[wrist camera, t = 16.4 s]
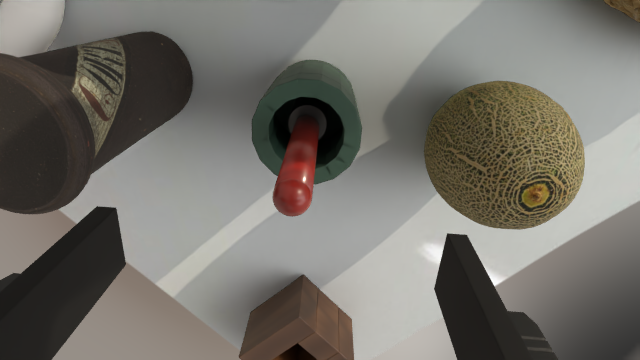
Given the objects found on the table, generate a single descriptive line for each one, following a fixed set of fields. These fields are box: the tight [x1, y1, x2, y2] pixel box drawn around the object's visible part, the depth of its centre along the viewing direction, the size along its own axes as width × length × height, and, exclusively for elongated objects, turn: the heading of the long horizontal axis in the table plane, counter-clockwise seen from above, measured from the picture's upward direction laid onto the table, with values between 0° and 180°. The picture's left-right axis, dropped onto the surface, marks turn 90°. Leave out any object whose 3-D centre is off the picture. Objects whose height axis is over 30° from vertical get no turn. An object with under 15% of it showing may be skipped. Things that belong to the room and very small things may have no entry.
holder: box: [239, 275, 354, 360], centre depth 47 cm, size 9×9×7 cm
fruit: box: [424, 81, 585, 229], centre depth 33 cm, size 11×11×15 cm
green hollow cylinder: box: [252, 60, 362, 184], centre depth 35 cm, size 8×8×10 cm
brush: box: [273, 97, 328, 216], centre depth 29 cm, size 3×3×21 cm
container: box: [0, 32, 193, 214], centre depth 30 cm, size 9×9×20 cm
